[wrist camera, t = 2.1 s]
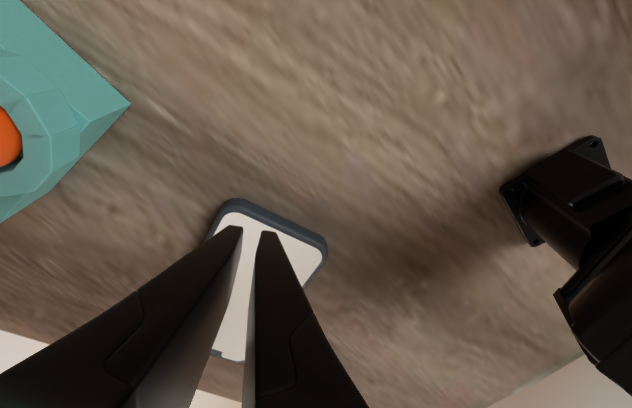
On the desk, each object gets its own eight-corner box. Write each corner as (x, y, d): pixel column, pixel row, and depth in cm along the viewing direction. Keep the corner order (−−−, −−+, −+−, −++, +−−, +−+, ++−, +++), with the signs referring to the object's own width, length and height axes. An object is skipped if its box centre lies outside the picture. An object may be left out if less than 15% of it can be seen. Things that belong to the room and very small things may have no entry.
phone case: (229, 188, 22) (160, 323, 28) (223, 199, 20) (152, 338, 27) (334, 239, 24) (248, 352, 31) (336, 251, 23) (245, 367, 29)
